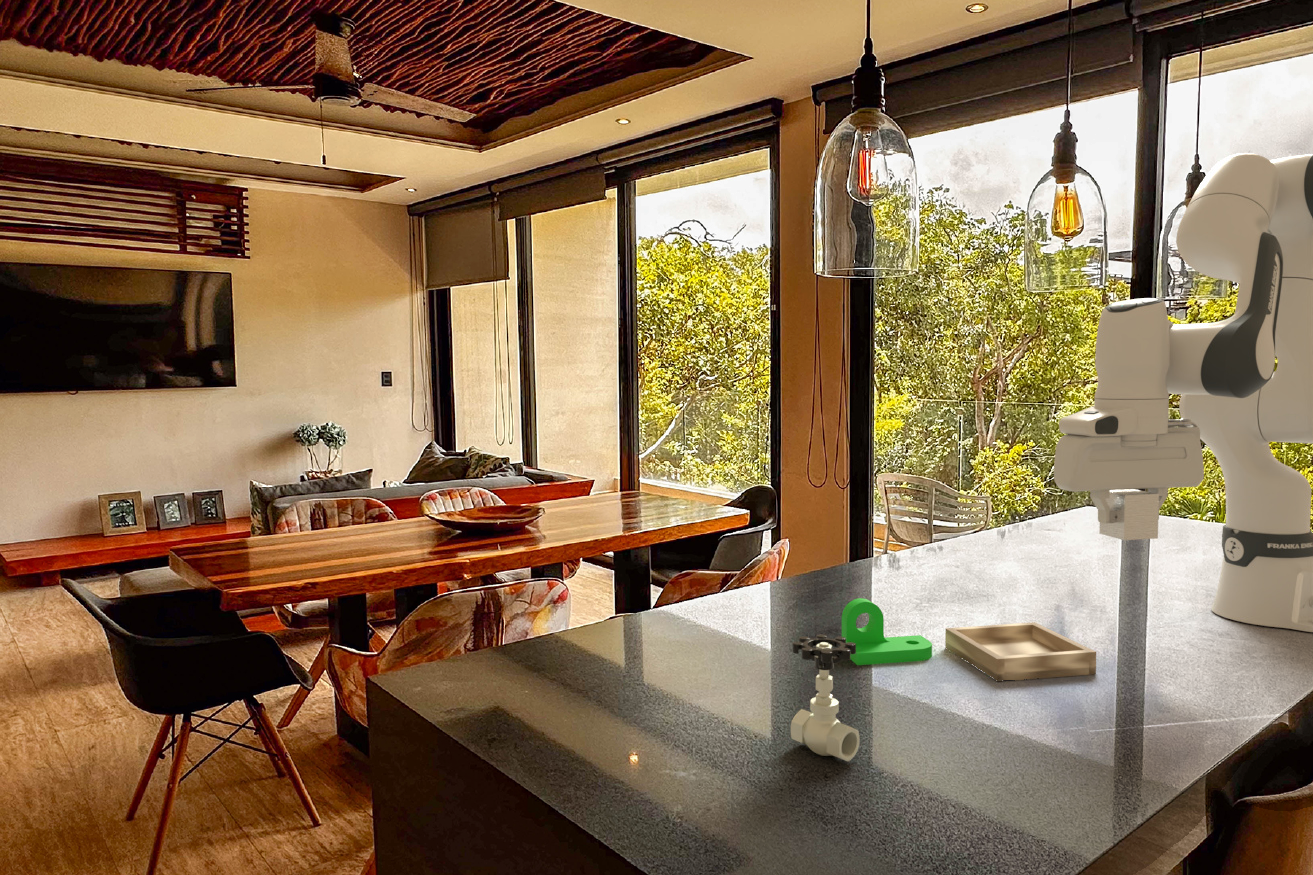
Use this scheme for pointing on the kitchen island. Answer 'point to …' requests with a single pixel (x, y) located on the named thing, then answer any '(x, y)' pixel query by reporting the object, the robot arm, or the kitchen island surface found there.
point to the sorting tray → (1020, 651)
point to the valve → (824, 701)
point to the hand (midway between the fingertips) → (1128, 521)
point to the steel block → (1132, 515)
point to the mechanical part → (879, 638)
